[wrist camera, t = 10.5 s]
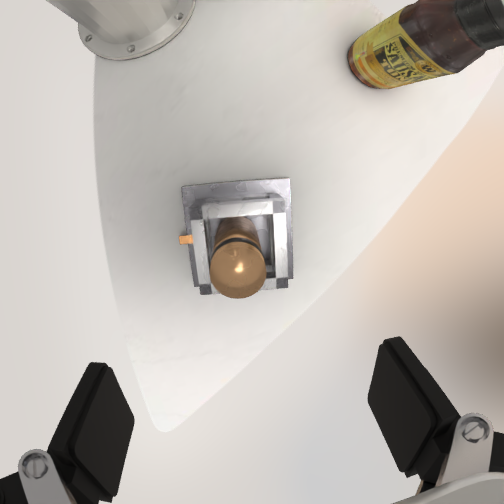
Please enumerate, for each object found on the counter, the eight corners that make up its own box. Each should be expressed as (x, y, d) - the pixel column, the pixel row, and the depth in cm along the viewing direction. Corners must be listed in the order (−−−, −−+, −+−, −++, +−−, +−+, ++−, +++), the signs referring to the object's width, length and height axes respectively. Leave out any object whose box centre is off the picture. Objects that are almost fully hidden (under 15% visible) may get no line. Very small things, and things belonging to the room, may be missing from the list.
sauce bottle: (338, 76, 25) (473, 2, 6) (353, 28, 23) (470, -62, 5) (394, 102, 26) (549, 81, 7) (405, 56, 24) (543, 9, 6)
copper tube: (214, 215, 28) (208, 246, 21) (259, 215, 28) (268, 246, 21) (215, 256, 29) (209, 298, 22) (257, 256, 30) (265, 299, 22)
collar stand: (175, 187, 28) (161, 195, 23) (288, 177, 28) (300, 183, 23) (188, 283, 31) (179, 308, 26) (291, 274, 32) (302, 299, 26)
